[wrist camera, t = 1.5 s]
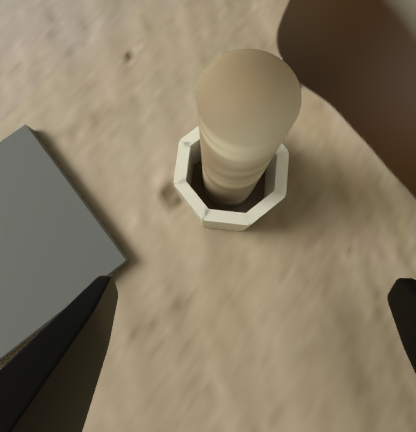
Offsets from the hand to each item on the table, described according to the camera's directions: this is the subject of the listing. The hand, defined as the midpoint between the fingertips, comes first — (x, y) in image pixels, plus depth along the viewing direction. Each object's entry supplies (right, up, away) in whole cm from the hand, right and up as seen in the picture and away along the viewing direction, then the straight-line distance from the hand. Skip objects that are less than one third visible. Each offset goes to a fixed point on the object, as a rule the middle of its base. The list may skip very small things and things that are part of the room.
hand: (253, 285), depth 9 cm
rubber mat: (-17, 0, +13) cm, 22 cm away
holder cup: (0, +5, +14) cm, 15 cm away
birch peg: (0, +5, +14) cm, 15 cm away
